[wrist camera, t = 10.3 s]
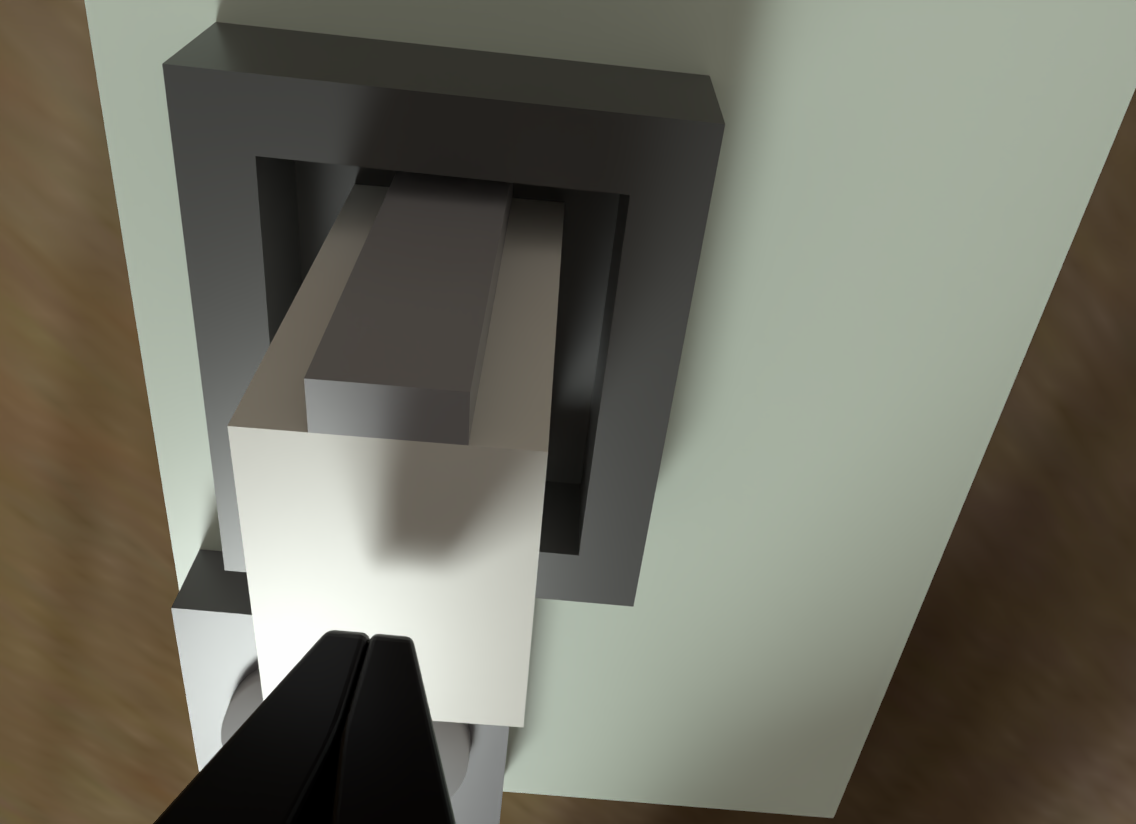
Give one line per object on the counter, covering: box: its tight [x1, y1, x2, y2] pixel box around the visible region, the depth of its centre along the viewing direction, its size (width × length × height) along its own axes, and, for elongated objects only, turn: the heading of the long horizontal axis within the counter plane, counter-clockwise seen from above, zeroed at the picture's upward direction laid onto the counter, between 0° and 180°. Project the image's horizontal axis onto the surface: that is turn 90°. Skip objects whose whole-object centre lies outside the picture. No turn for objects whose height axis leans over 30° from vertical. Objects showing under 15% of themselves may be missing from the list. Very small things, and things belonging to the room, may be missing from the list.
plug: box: [227, 171, 565, 727], centre depth 13 cm, size 5×3×6 cm, turn 175°
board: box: [84, 0, 1136, 824], centre depth 17 cm, size 18×14×3 cm
